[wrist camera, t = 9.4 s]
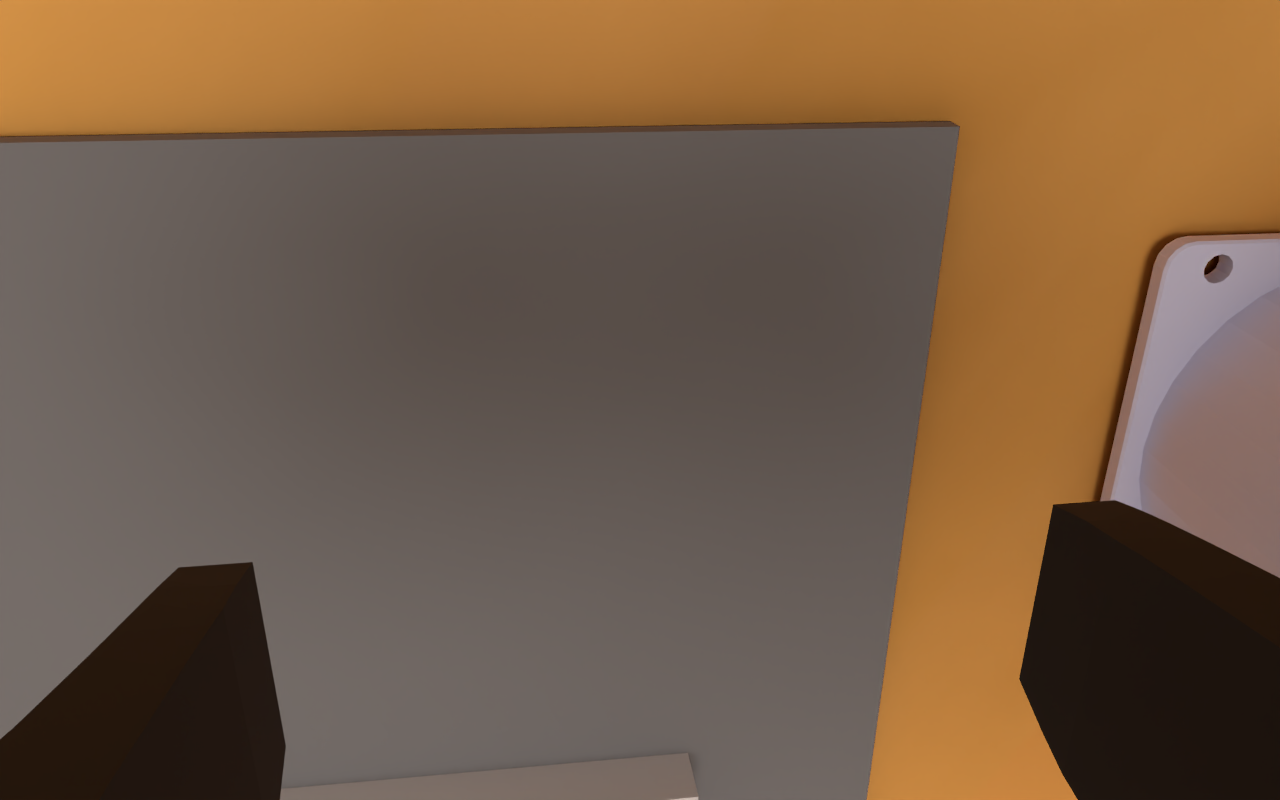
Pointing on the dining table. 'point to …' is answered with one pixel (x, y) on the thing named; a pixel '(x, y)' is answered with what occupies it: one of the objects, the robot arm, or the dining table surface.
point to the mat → (484, 437)
